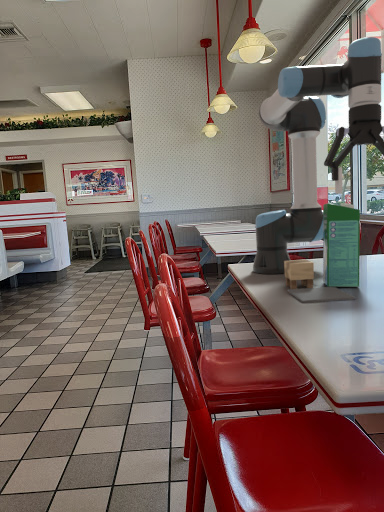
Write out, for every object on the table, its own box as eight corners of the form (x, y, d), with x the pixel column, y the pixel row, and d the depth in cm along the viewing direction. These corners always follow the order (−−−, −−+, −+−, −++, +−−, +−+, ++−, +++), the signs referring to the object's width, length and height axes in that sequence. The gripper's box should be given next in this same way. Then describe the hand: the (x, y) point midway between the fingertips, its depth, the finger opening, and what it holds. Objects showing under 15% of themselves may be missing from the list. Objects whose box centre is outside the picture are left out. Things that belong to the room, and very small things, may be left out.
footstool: (285, 285, 123) (284, 260, 122) (306, 283, 123) (306, 259, 122) (291, 290, 116) (290, 264, 115) (314, 288, 116) (313, 262, 115)
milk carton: (359, 286, 113) (360, 201, 111) (327, 286, 115) (327, 202, 113) (352, 282, 122) (353, 203, 120) (323, 282, 124) (323, 204, 122)
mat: (287, 291, 115) (287, 289, 115) (333, 288, 115) (333, 286, 115) (302, 302, 101) (302, 300, 101) (354, 299, 101) (354, 297, 101)
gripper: (320, 105, 92) (322, 194, 95) (423, 99, 92) (421, 188, 95) (310, 113, 100) (312, 195, 102) (405, 107, 100) (404, 189, 103)
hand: (365, 192), depth 99 cm, fingers open, 13 cm apart
